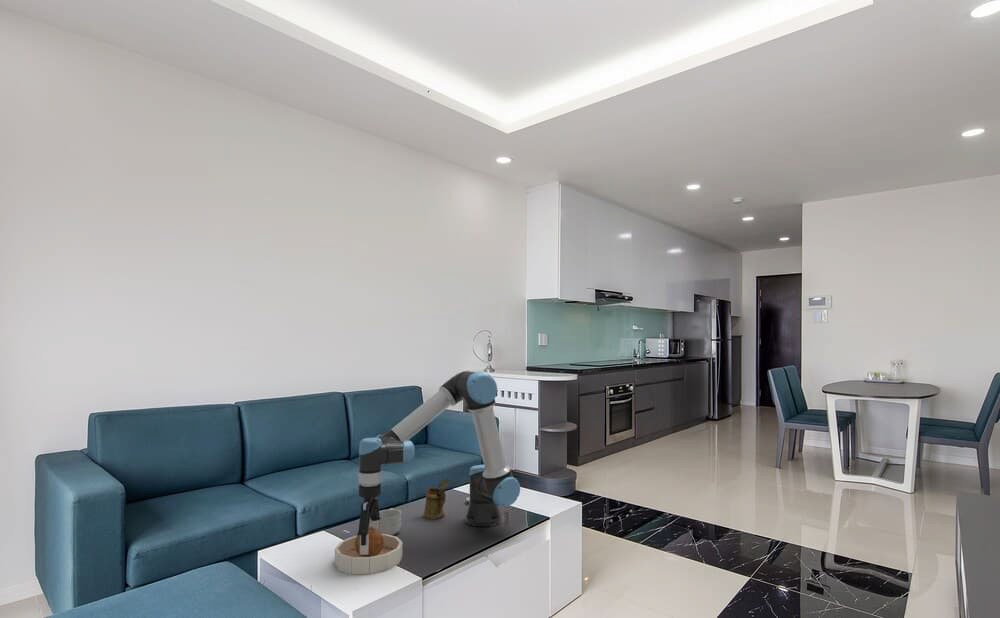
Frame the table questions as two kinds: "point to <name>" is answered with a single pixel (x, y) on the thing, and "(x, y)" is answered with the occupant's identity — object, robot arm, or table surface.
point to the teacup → (389, 521)
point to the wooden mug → (436, 501)
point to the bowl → (357, 564)
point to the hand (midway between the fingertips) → (369, 546)
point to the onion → (371, 542)
